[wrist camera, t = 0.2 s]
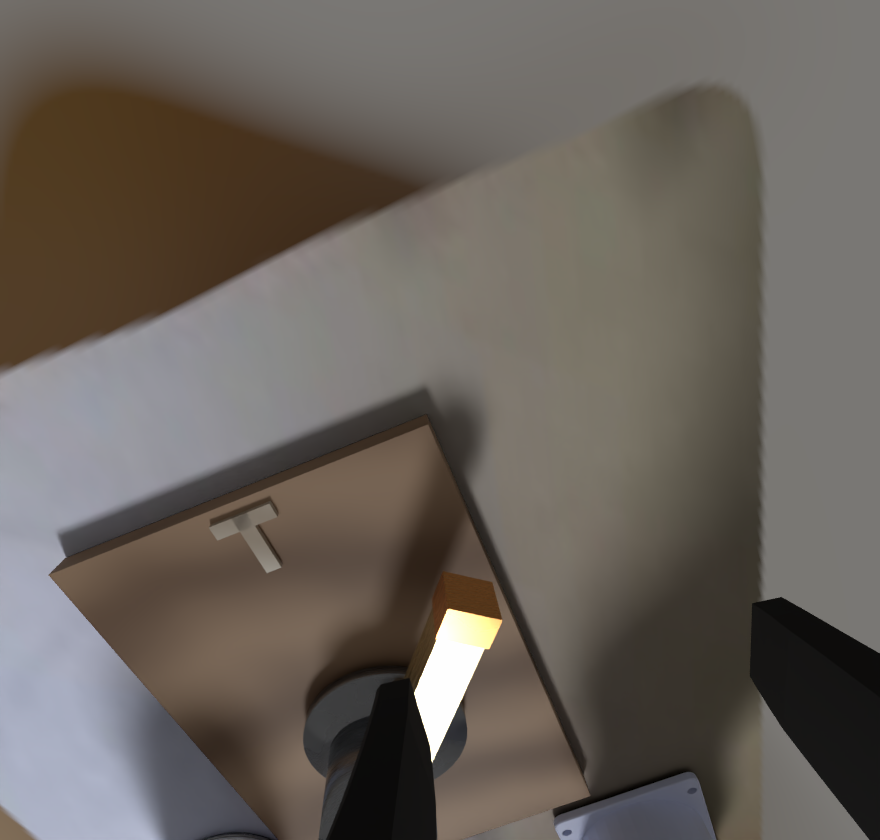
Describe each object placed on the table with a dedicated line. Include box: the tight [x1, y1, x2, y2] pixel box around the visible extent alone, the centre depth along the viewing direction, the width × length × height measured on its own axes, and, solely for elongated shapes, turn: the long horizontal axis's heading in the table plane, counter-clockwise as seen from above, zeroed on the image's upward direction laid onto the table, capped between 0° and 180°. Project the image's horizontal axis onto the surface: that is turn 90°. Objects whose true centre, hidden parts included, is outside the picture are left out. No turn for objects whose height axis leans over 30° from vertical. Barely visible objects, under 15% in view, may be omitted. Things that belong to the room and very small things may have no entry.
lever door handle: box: [303, 571, 503, 840], centre depth 19 cm, size 13×7×4 cm, turn 161°
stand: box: [49, 414, 591, 840], centre depth 22 cm, size 22×15×1 cm
